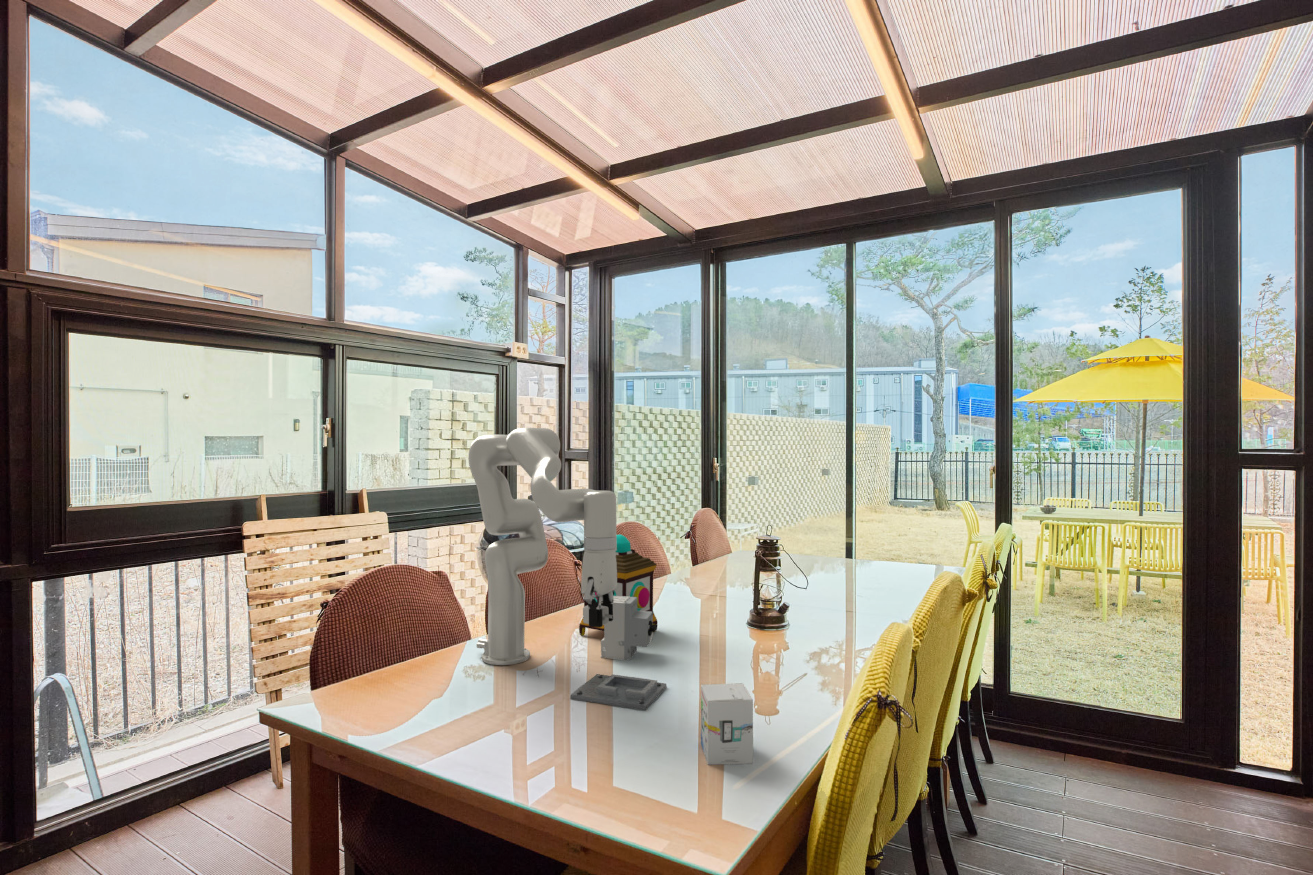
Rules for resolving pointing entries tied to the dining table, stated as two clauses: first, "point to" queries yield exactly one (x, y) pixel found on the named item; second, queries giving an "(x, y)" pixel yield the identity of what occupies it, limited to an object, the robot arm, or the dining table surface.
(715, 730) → the ink box
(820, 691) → the dining table surface
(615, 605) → the circuit breaker
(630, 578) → the decorative lantern
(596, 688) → the plate
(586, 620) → the usb wall charger
